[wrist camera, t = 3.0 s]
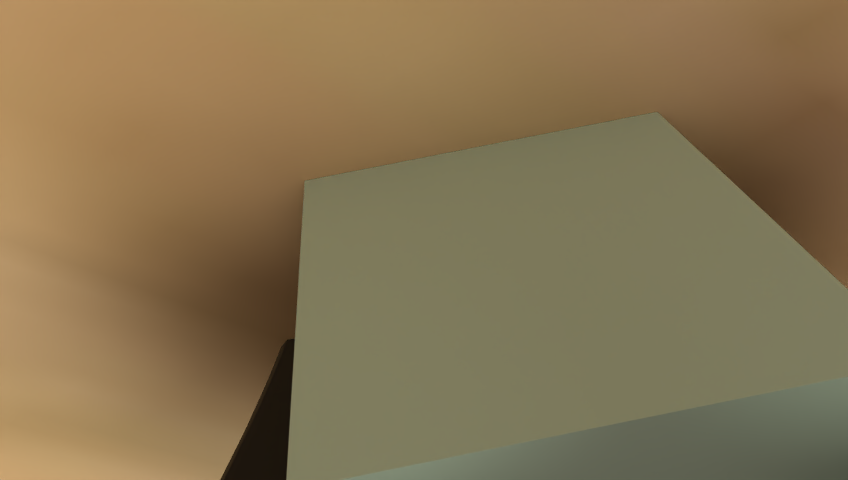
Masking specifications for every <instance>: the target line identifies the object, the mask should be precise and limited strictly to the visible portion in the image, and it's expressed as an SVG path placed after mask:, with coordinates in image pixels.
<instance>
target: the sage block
mask: <svg viewBox="0 0 848 480" xmlns="http://www.w3.org/2000/svg"><path fill="white" fill-rule="evenodd" d="M286 480H848V289H847V288H846V287H845V286H844V285H843V284H842V283H840V282H839V281H838V280H837V279H836V278H835V277H834V276H833V275H832V274H831V273H830V272H829V271H828V270H826V269H825V268H824V267H823V266H822V265H821V264H820V263H819V262H818V261H817V260H816V259H815V258H814V257H813V256H811V255H810V254H809V253H808V252H807V251H806V250H805V249H804V248H803V247H802V246H801V245H800V244H799V243H798V242H796V241H795V240H794V239H793V238H792V237H791V236H790V235H789V234H788V233H787V232H786V231H785V230H784V229H782V228H781V227H780V226H779V225H778V224H777V223H776V222H775V221H774V220H773V219H772V218H771V217H770V216H769V215H767V214H766V213H765V212H764V211H763V210H762V209H761V208H760V207H759V206H758V205H757V204H756V203H755V202H754V201H752V200H751V199H750V198H749V197H748V196H747V195H746V194H745V193H744V192H743V191H742V190H741V189H740V188H738V187H737V186H736V185H735V184H734V183H733V182H732V181H731V180H730V179H729V178H728V177H727V176H726V175H725V174H723V173H722V172H721V171H720V170H719V169H718V168H717V167H716V166H715V165H714V164H713V163H712V162H711V161H710V160H708V159H707V158H706V157H705V156H704V155H703V154H702V153H701V152H700V151H699V150H698V149H697V148H696V147H694V146H693V145H692V144H691V143H690V142H689V141H688V140H687V139H686V138H685V137H684V136H683V135H682V134H681V133H679V132H678V131H677V130H676V129H675V128H674V127H673V126H672V125H671V124H670V123H669V122H668V121H667V120H666V119H664V118H663V117H662V116H661V115H660V114H659V113H658V112H654V113H649V114H643V115H638V116H633V117H628V118H623V119H618V120H613V121H608V122H603V123H597V124H592V125H587V126H582V127H577V128H572V129H567V130H562V131H557V132H551V133H546V134H541V135H536V136H531V137H526V138H521V139H516V140H511V141H505V142H500V143H495V144H490V145H485V146H480V147H475V148H470V149H465V150H459V151H454V152H449V153H444V154H439V155H434V156H429V157H424V158H419V159H413V160H408V161H403V162H398V163H393V164H388V165H383V166H378V167H373V168H367V169H362V170H357V171H352V172H347V173H342V174H337V175H332V176H327V177H321V178H316V179H311V180H306V181H305V182H304V198H303V215H302V231H301V248H300V264H299V280H298V297H297V313H296V330H295V346H294V363H293V379H292V395H291V412H290V428H289V445H288V461H287V477H286Z"/></svg>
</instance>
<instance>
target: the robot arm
mask: <svg viewBox="0 0 848 480" xmlns="http://www.w3.org/2000/svg"><path fill="white" fill-rule="evenodd" d="M294 346H295V338H294V339H289V340H287V341H286V342H285V343H284V345H283V346H282V347H281V349H280V352H279V354H278V357H277V359H276V362H275V364H274V367H273V369H272V371H271V374H270V376H269V379H268V381H267V383H266V386H265V388H264V390H263V392H262V395H261V397H260V399H259V401H258V404H257V406H256V408H255V410H254V412H253V414H252V417H251V419H250V421H249V423H248V425H247V427H246V429H245V431H244V433H243V435H242V438H241V440H240V442H239V444H238V446H237V448H236V450H235V452H234V454H233V456H232V458H231V460H230V462H229V464H228V466H227V468H226V470H225V472H224V474H223V476H222V478H221V480H286V477H287V461H288V445H289V428H290V412H291V395H292V379H293V363H294Z"/></svg>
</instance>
